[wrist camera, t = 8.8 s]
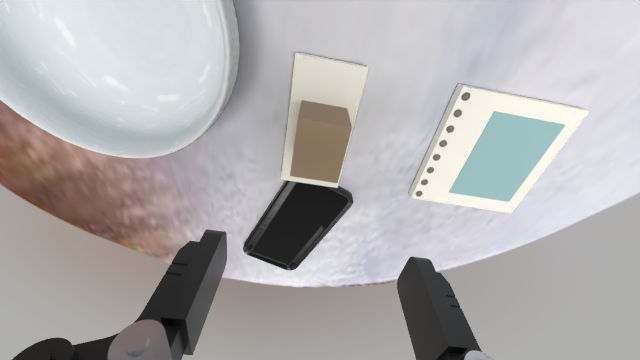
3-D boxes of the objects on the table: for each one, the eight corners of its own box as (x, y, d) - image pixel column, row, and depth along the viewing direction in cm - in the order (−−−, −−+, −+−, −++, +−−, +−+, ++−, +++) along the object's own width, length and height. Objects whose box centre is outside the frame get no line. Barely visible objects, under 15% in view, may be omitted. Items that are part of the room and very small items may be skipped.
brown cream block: (282, 174, 28) (274, 207, 23) (296, 51, 21) (289, 63, 16) (337, 182, 28) (340, 216, 23) (367, 65, 22) (379, 80, 17)
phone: (240, 251, 33) (296, 167, 26) (242, 245, 34) (296, 162, 27) (293, 272, 36) (358, 199, 29) (294, 265, 37) (356, 193, 30)
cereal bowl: (297, 59, 22) (287, 77, 16) (165, 154, 27) (121, 194, 21) (114, -232, 14) (-40, -413, 8) (-24, -21, 19) (-182, -36, 13)
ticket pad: (408, 192, 29) (411, 198, 28) (458, 83, 23) (463, 86, 22) (506, 207, 30) (511, 213, 29) (580, 107, 24) (590, 111, 23)
